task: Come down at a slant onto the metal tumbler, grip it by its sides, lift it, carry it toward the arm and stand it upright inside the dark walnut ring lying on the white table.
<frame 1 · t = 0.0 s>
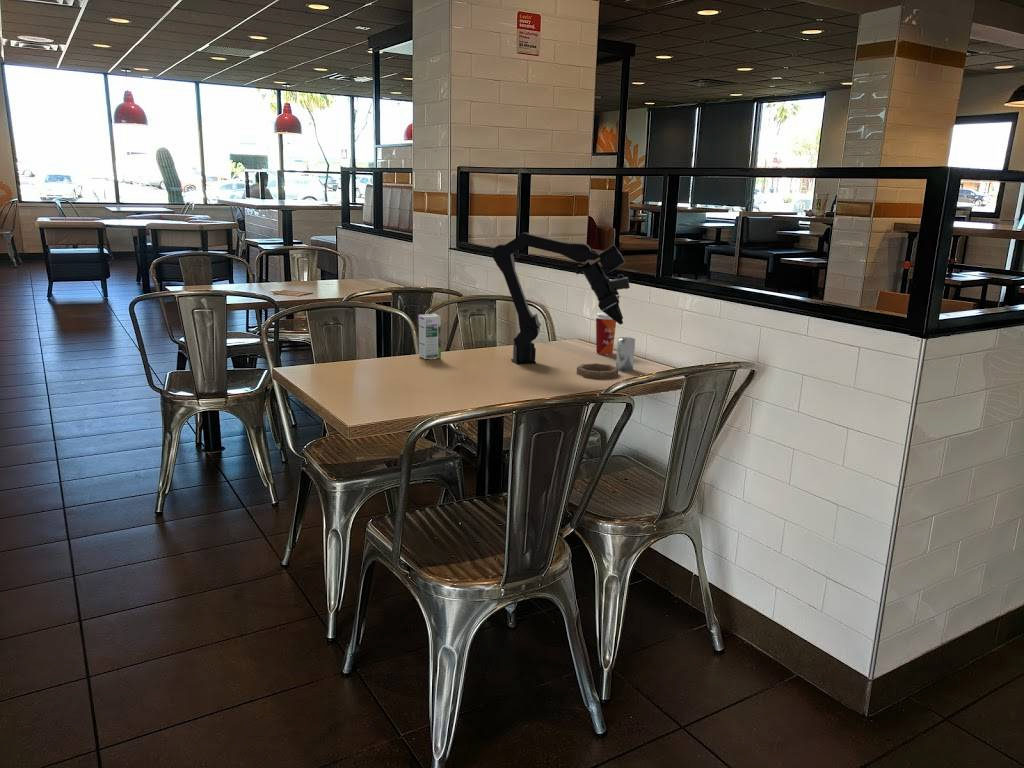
hand: (621, 321, 244), 15 cm above the table, tool tilted 35°, fingers open, 9 cm apart
bore ring: (597, 374, 237), on the table
syrup box: (429, 358, 255), on the table
metal tumbler: (624, 369, 244), on the table
paper cup: (604, 353, 269), on the table
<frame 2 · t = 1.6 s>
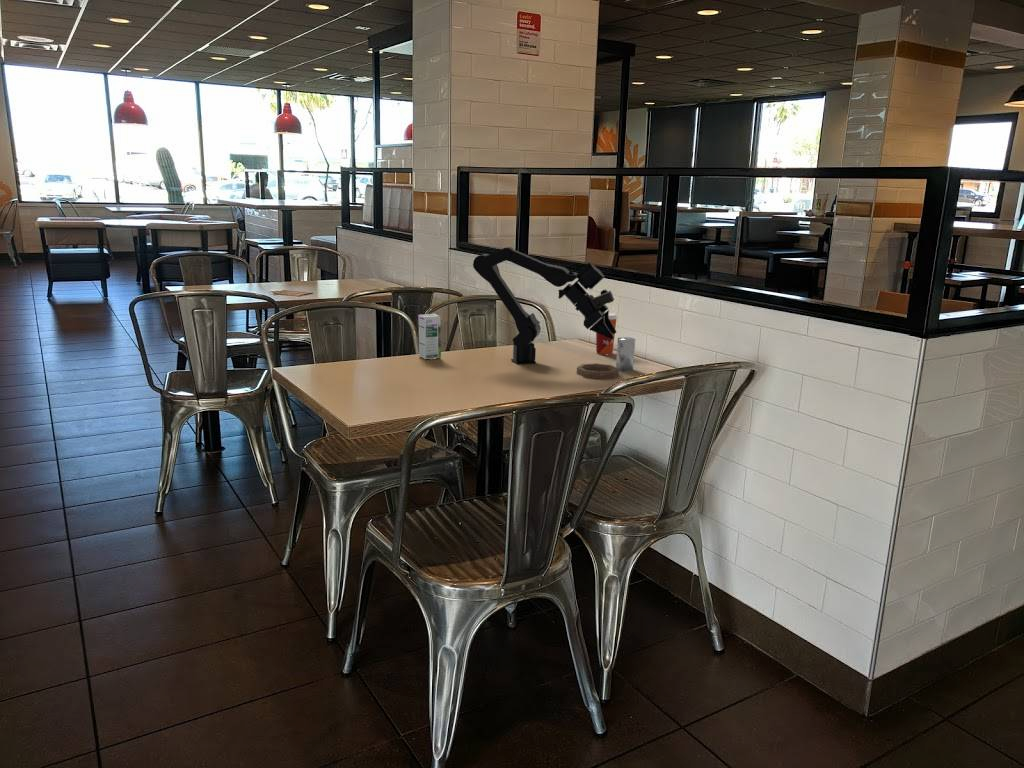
hand: (613, 335, 243), 11 cm above the table, tool tilted 45°, fingers open, 9 cm apart
nothing on the table moved.
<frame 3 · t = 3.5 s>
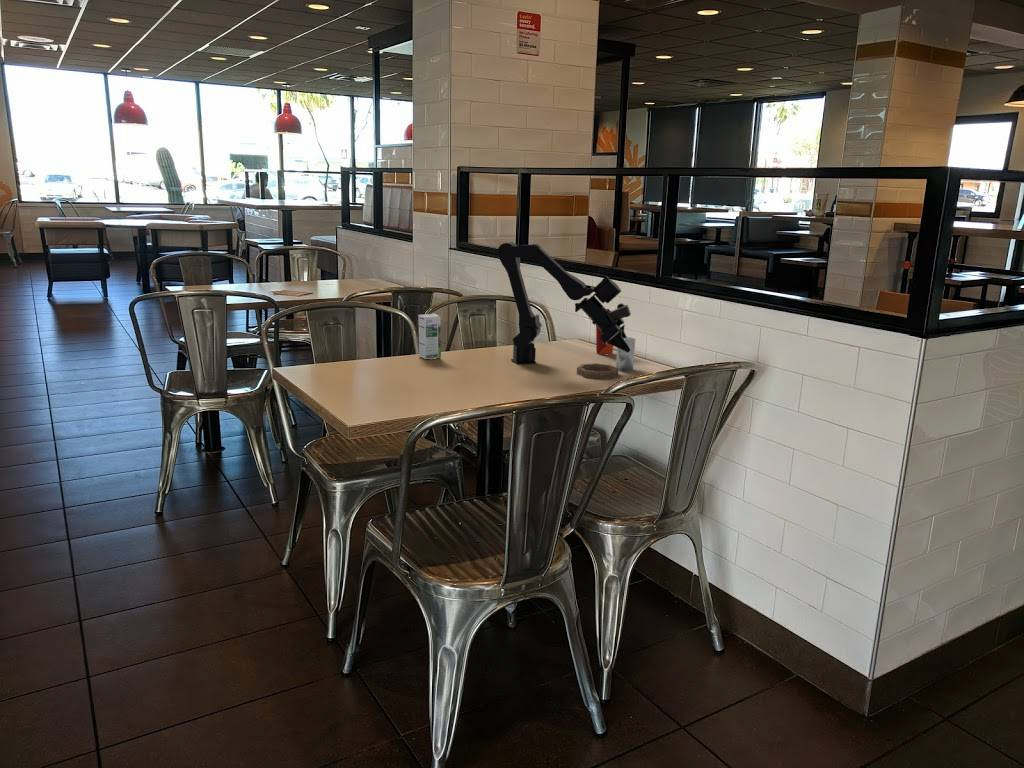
hand: (630, 349, 243), 7 cm above the table, tool tilted 45°, fingers closed on metal tumbler, 5 cm apart
metal tumbler: (624, 369, 244), on the table, touching gripper
everything else where it was.
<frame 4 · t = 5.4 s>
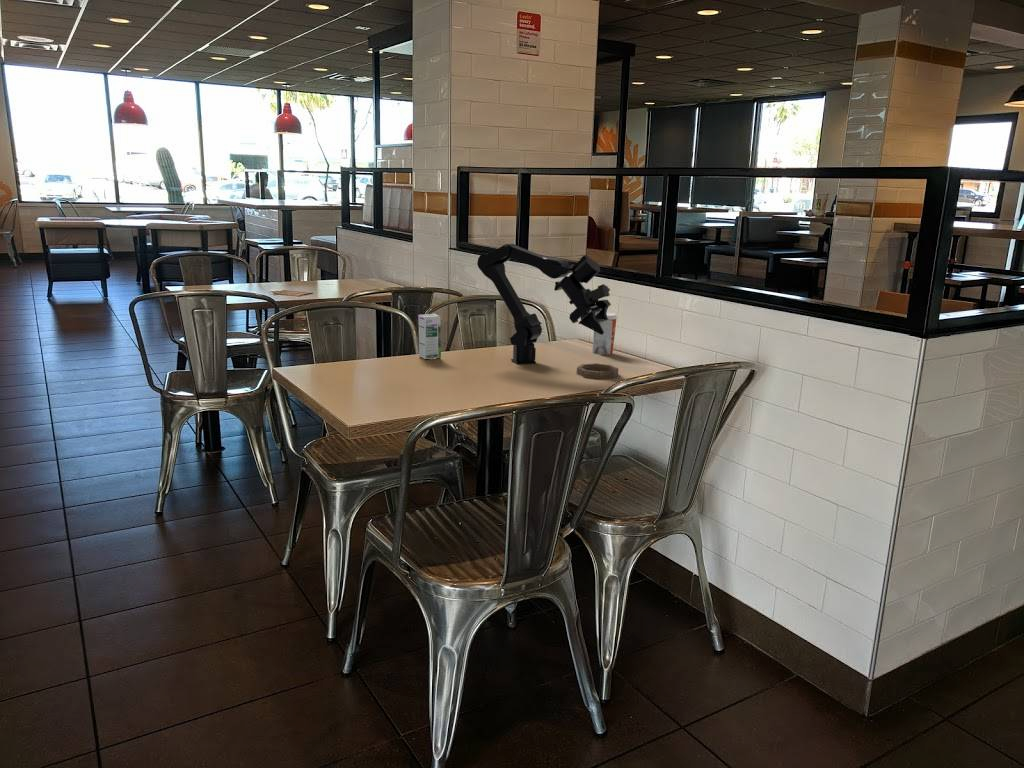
hand: (606, 332, 234), 13 cm above the table, tool tilted 45°, fingers closed on metal tumbler, 5 cm apart
metal tumbler: (601, 352, 236), point 7 cm above the table, touching gripper
everything else where it was.
when the fingers open (8 cm above the table, at t = 7.3 s): metal tumbler drops 1 cm, resting in bore ring.
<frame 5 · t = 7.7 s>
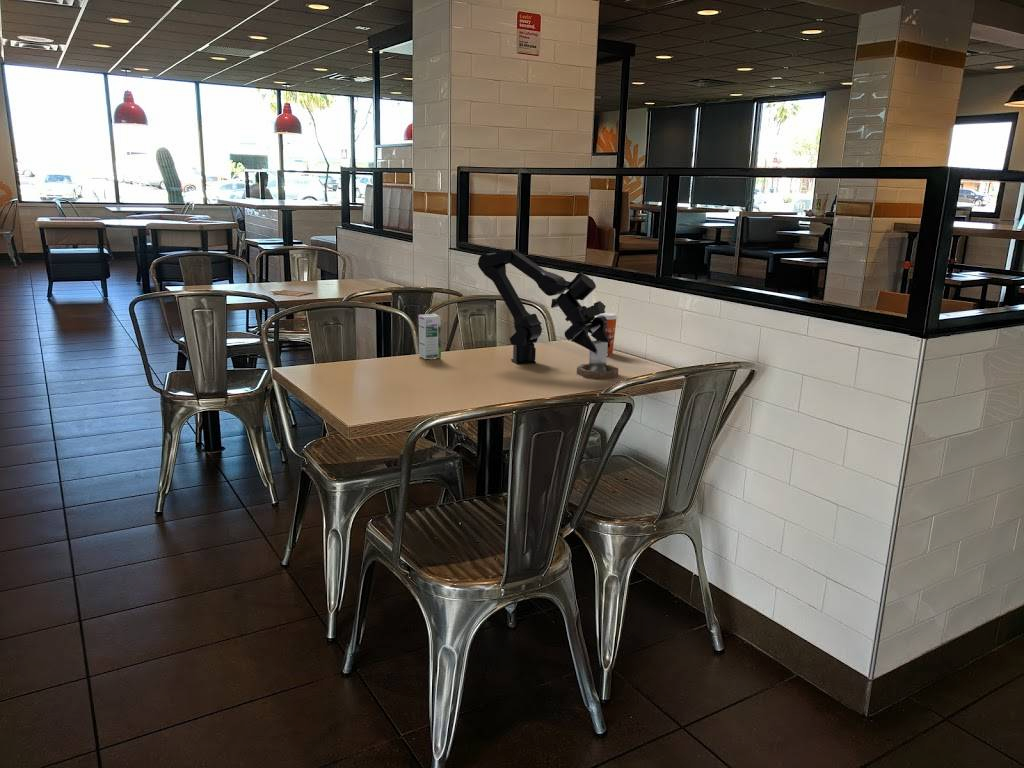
hand: (602, 349, 235), 8 cm above the table, tool tilted 45°, fingers open, 9 cm apart
metal tumbler: (597, 374, 237), resting in bore ring
everything else where it was.
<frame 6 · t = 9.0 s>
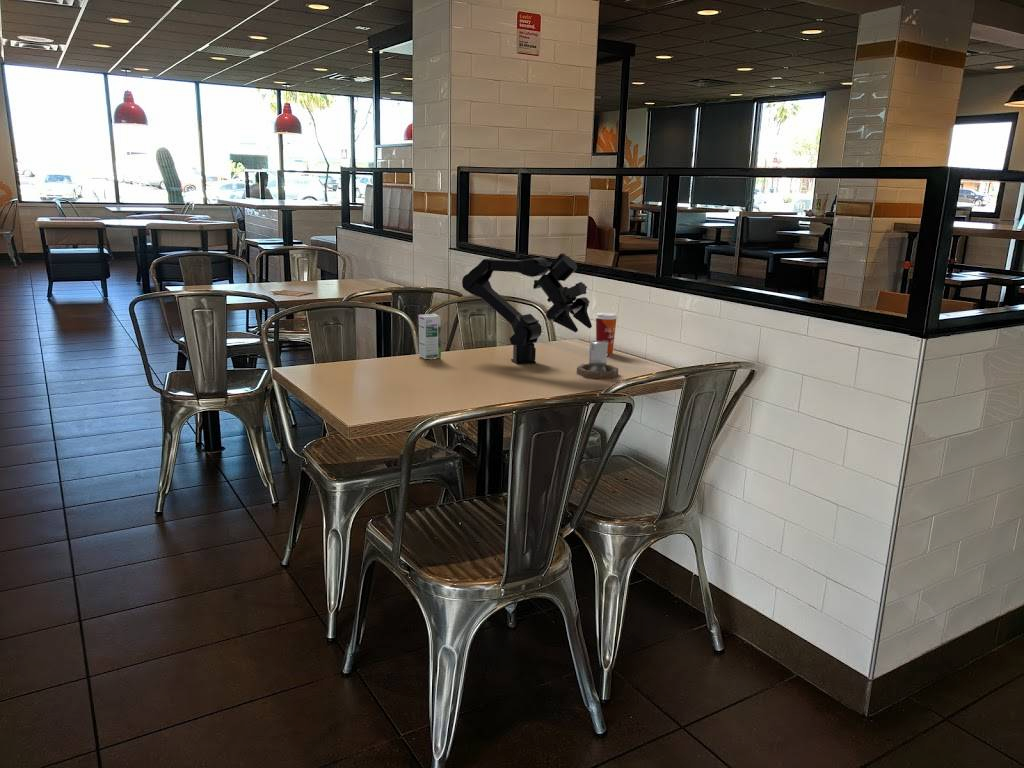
hand: (584, 329, 237), 13 cm above the table, tool tilted 45°, fingers open, 9 cm apart
nothing on the table moved.
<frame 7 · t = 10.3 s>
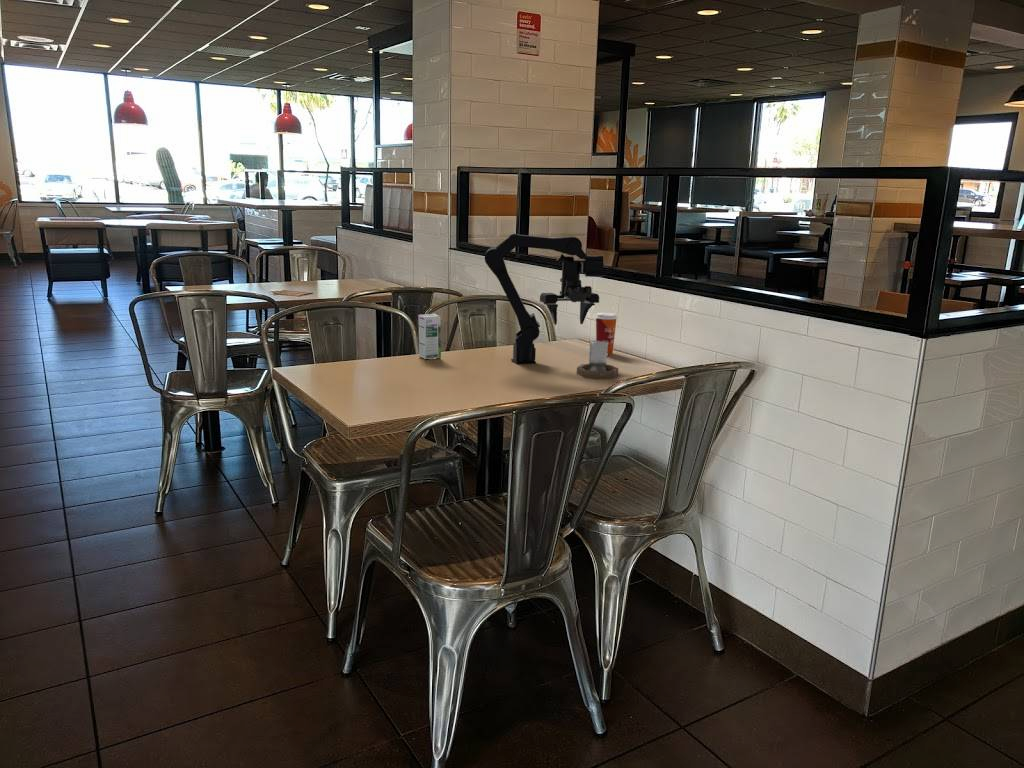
hand: (568, 324, 249), 13 cm above the table, tool pointing down, fingers open, 9 cm apart
nothing on the table moved.
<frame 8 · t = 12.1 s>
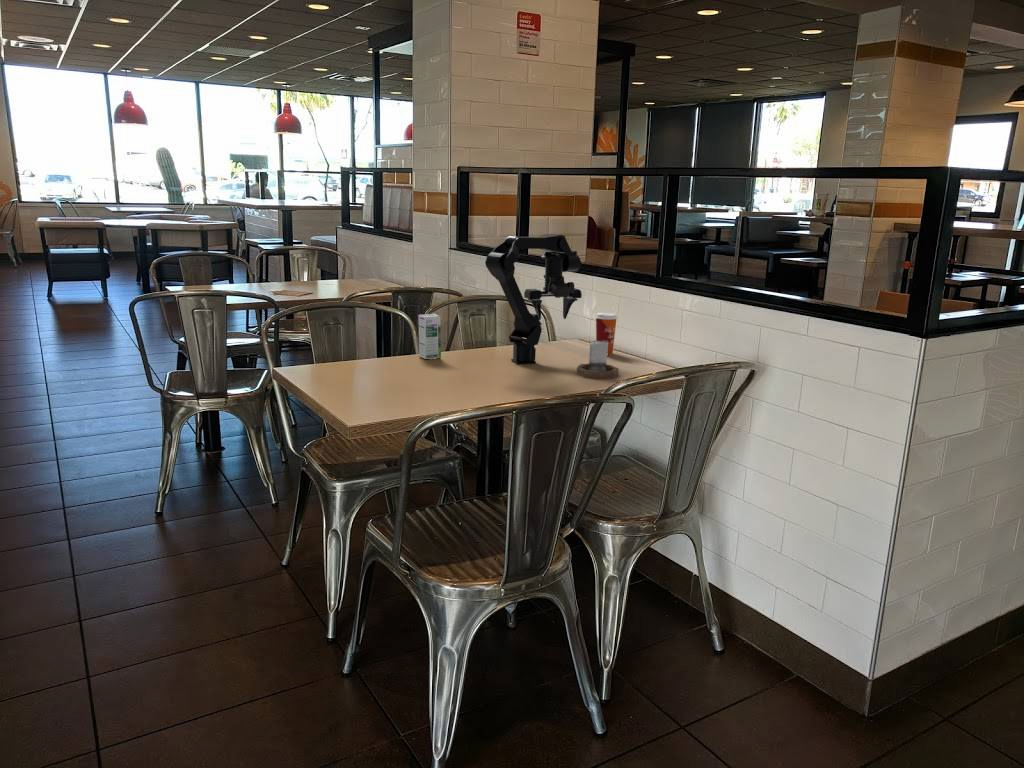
hand: (552, 319, 257), 13 cm above the table, tool pointing down, fingers open, 9 cm apart
nothing on the table moved.
at the end: metal tumbler 0.1 cm from the bore ring (horizontally); metal tumbler tilted 1°; metal tumbler resting in bore ring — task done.
